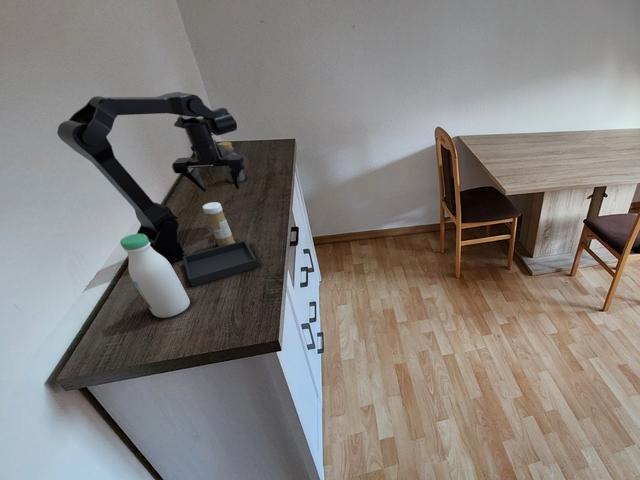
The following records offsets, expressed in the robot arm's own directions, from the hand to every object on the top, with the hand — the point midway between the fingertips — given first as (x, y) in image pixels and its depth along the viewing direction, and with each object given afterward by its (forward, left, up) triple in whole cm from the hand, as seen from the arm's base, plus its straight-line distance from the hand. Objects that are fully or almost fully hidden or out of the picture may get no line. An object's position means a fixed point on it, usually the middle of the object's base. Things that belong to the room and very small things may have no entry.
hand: (221, 190), depth 120 cm
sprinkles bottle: (-7, -9, -13) cm, 17 cm away
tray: (-14, -19, -13) cm, 27 cm away
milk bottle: (-30, -28, -13) cm, 43 cm away
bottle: (+21, +38, -13) cm, 46 cm away
